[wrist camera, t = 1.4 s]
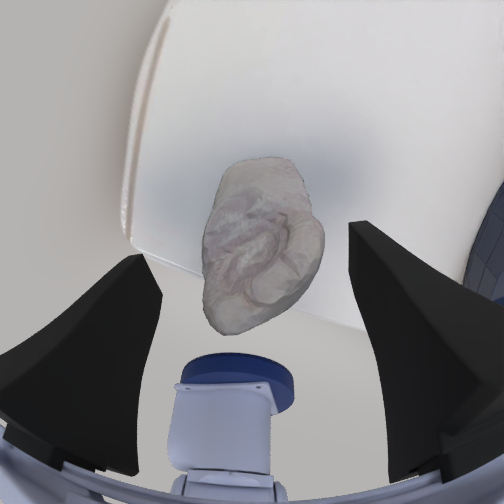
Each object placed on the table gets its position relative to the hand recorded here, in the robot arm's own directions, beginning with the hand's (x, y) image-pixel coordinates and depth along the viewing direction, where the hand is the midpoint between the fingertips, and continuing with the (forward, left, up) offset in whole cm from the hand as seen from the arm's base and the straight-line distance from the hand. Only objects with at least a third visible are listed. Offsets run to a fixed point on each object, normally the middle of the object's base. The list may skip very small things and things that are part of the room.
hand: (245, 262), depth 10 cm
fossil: (0, 0, -7) cm, 7 cm away
